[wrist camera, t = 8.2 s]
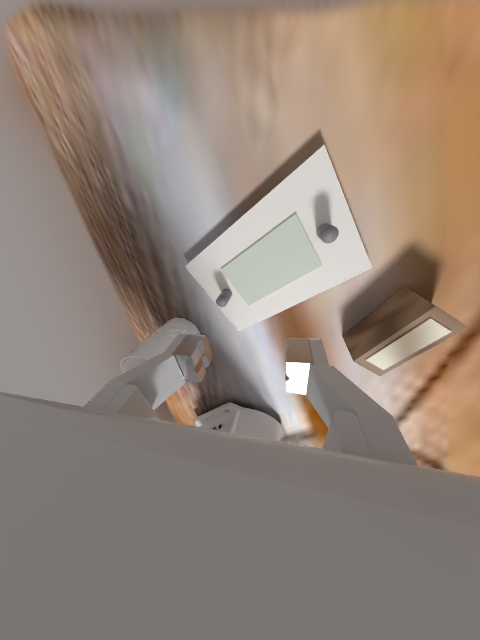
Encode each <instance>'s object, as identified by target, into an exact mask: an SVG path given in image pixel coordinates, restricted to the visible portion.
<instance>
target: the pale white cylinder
mask: <svg viewBox="0 0 480 640" xmlns="http://www.w3.org/2000/svg"><path fill="white" fill-rule="evenodd" d="M179 334H193V335H200V332H199V330H198V328H197V327H196V326H195V325H194V324H193V323H192V322H190V321H188V320H186V319H184V318H177V317H175V318H173V319H170V320H168V321H167V322H166V323H165V324H164V325H163V326H162V327H160V328H159V329H157V330H156V331H155V332H154V333H153V334H151V335H150V336H149V337H147V338H146V339H145V340H144V341H143V342H142V343H141V344H139V345H138V346H137V347H136V348H135V349H134V350H133V351H131V352H130V353H129V354H128V355H127V356H126V357H124V358H123V359H122V360H121V362H120V369H121V371H122V373H125V372H127V371H129V370H131V369H133V368H135V367H136V366H138V365H140V364H142V363H144V362H146V361H148V360H149V359H151V358H153V357H155V356H157V355H159V354H163V352H164V351H165V350H166V349H167V348H168V346H169V345H170V344H171V343H172V342H173V340H174V339H175V338H176V337H177V336H178V335H179Z"/></svg>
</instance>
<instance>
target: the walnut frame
mask: <svg viewBox="0 0 480 640" xmlns="http://www.w3.org/2000/svg"><path fill="white" fill-rule="evenodd" d="M466 328H468V327H467V326H466V325H464V324H462V323H461V322H459V321H458V320H456V319H455V318H453V317H452V316H450V315H449V314H447V313H446V312H444V311H443V310H441V309H440V308H438V307H437V306H435V305H434V304H432V303H431V302H429V301H427V300H426V299H424V298H423V297H421V296H420V295H418V294H417V293H415V292H414V291H412V290H410V289H409V288H407V287H406V286H404V287H403V288H401V289H400V290H399V291H398V292H396V293H395V294H394V295H393V296H391V297H390V298H389V299H388V300H387V301H385V302H384V303H383V304H382V305H380V306H379V307H378V308H377V309H375V310H374V311H373V312H372V313H370V314H369V315H368V316H367V317H365V318H364V319H363V320H362V321H361V322H359V323H358V324H357V325H356V326H354V327H353V328H352V329H351V330H349V331H348V332H347V333H346V334H344V335H343V336H342V337H343V339H344V341H345V343H346V346H347V348H348V350H349V352H350V354H351V357H352V359H353V361H354V362H356V363H358V364H359V365H361V366H363V367H365V368H366V369H368V370H370V371H372V372H373V373H375V374H377V375H379V376H381V375H383V374H385V373H387V372H388V371H390V370H392V369H394V368H396V367H397V366H399V365H401V364H403V363H405V362H406V361H408V360H410V359H412V358H414V357H416V356H417V355H419V354H421V353H423V352H425V351H426V350H428V349H430V348H432V347H434V346H436V345H437V344H439V343H441V342H443V341H445V340H446V339H448V338H450V337H452V336H454V335H455V334H457V333H459V332H461V331H463V330H465V329H466Z"/></svg>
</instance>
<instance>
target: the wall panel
mask: <svg viewBox="0 0 480 640" xmlns="http://www.w3.org/2000/svg"><path fill="white" fill-rule="evenodd" d="M185 267H186V269H187V270H188V271H189V272H190V273H191V275H192V276H193V277H194V278H195V280H196V281H197V282H198V283H199V284H200V286H201V287H202V288H203V289H204V290H205V292H206V293H207V294H208V295H209V297H210V298H211V299H212V300H213V301H214V303H215V304H216V305H217V306H218V307H219V309H220V310H221V311H222V312H223V314H224V315H225V316H226V317H227V318H228V320H229V321H230V322H231V323H232V324H233V326H234V327H235V328H236V329H237V330H238V332H240V331H242V330H244V329H246V328H248V327H250V326H252V325H254V324H256V323H258V322H260V321H263V320H265V319H267V318H269V317H271V316H273V315H275V314H277V313H279V312H281V311H283V310H285V309H288V308H290V307H292V306H294V305H296V304H298V303H300V302H302V301H304V300H306V299H308V298H310V297H312V296H315V295H317V294H319V293H321V292H323V291H325V290H327V289H329V288H331V287H333V286H335V285H337V284H340V283H342V282H344V281H346V280H348V279H350V278H352V277H354V276H356V275H358V274H360V273H362V272H364V271H367V270H369V269H371V268H372V266H371V264H370V261H369V259H368V256H367V253H366V251H365V248H364V246H363V243H362V241H361V238H360V235H359V233H358V230H357V228H356V225H355V223H354V220H353V217H352V215H351V212H350V210H349V207H348V204H347V202H346V199H345V197H344V194H343V192H342V189H341V186H340V184H339V181H338V179H337V176H336V173H335V171H334V168H333V166H332V163H331V161H330V158H329V155H328V153H327V150H326V148H325V145H323V146H322V147H321V148H320V149H319V150H317V151H316V152H315V153H314V154H313V155H312V156H311V157H309V158H308V159H307V160H306V161H305V162H304V163H303V164H301V165H300V166H299V167H298V168H297V169H296V170H295V171H293V172H292V173H291V174H290V175H289V176H288V177H287V178H285V179H284V180H283V181H282V182H281V183H280V184H279V185H277V186H276V187H275V188H274V189H273V190H272V191H271V192H269V193H268V194H267V195H266V196H265V197H264V198H263V199H261V200H260V201H259V202H258V203H257V204H256V205H255V206H253V207H252V208H251V209H250V210H249V211H248V212H247V213H245V214H244V215H243V216H242V217H241V218H240V219H239V220H237V221H236V222H235V223H234V224H233V225H232V226H231V227H229V228H228V229H227V230H226V231H225V232H224V233H223V234H221V235H220V236H219V237H218V238H217V239H216V240H214V241H213V242H212V243H211V244H210V245H209V246H208V247H206V248H205V249H204V250H203V251H202V252H201V253H200V254H198V255H197V256H196V257H195V258H194V259H193V260H192V261H190V262H189V263H188V264H187V265H186V266H185Z"/></svg>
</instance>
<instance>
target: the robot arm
mask: <svg viewBox="0 0 480 640" xmlns="http://www.w3.org/2000/svg"><path fill="white" fill-rule="evenodd" d="M208 343H209V339H208V336H206V335H193V334H179V335H178V336H177V337H176V338H175V339H174V340H173V342H172V343H171V344H170V345H169V346H168V348H167V349H166V350H165V351H164V352H163V354H159V355H157V356H155V357H153V358H151V359H149V360H148V361H146V362H144V363H142V364H140V365H138V366H136V367H135V368H133V369H131V370H129V371H127V372H125V373H123V374H122V375H120V376H118V377H116V378H114V379H112V380H110V381H109V382H108V383H107V384H106V385H105V386H104V387H103V388H102V389H101V390H100V391H99V392H98V393H97V394H96V395H95V396H94V397H93V398H92V399H91V400H90V401H89V402H88V403H87V404H86V405H85V406H84V407H82V406H77V405H71V404H65V403H60V402H54V401H48V400H43V399H37V398H31V397H26V396H20V395H15V394H9V393H4V392H0V640H480V477H477V476H472V475H466V474H460V473H455V472H449V471H443V470H438V469H432V468H427V467H421V466H418V465H417V463H416V461H415V459H414V457H413V455H412V453H411V451H410V449H409V447H408V445H407V444H406V442H405V440H404V438H403V436H402V434H401V432H400V430H399V428H398V426H397V424H396V422H395V420H394V418H393V416H392V415H390V414H389V413H388V412H387V411H386V410H385V409H383V408H382V407H381V406H380V405H379V404H377V403H376V402H375V401H374V400H373V399H371V398H370V397H369V396H368V395H367V394H366V393H364V392H363V391H362V390H361V389H360V388H358V387H357V386H356V385H355V384H354V383H353V382H351V381H350V380H349V379H348V378H347V377H345V376H344V375H343V374H342V373H341V372H339V371H338V370H337V369H336V368H335V367H334V366H329V364H328V360H327V357H326V353H325V350H324V346H323V343H322V340H321V339H319V338H309V339H301V338H286V352H285V372H286V373H285V384H286V392H291V393H299V394H306V396H307V398H308V399H309V401H310V402H311V404H312V405H313V406H314V408H315V409H316V411H317V412H318V414H319V415H320V417H321V418H322V419H323V421H324V422H325V424H326V425H327V427H328V428H329V429H328V432H327V436H326V439H325V443H324V446H323V449H319V448H314V447H308V446H302V445H297V444H291V443H285V442H280V439H281V436H282V433H283V429H282V426H281V425H280V423H279V422H278V421H277V420H275V419H274V418H273V417H271V416H269V415H268V414H265V413H263V412H260V411H257V410H253V409H248V408H244V407H241V406H238V405H236V404H233V403H226V404H224V405H222V406H220V407H218V408H216V409H213V410H211V411H209V412H207V413H205V414H203V415H201V416H198V417H196V419H195V424H196V425H197V427H196V426H190V425H184V424H179V423H173V422H167V421H162V420H159V419H158V416H157V415H156V413H155V412H154V409H156V408H157V407H158V406H159V405H160V404H161V403H162V402H164V401H165V400H166V399H167V398H168V397H169V396H171V395H172V394H173V393H174V392H175V391H176V390H178V389H179V388H180V387H181V386H182V385H183V384H185V383H186V382H199V383H201V382H202V380H203V378H204V376H205V374H206V370H205V368H206V367H208V366H209V365H210V363H211V360H212V350H211V347H210V346H208Z"/></svg>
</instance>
